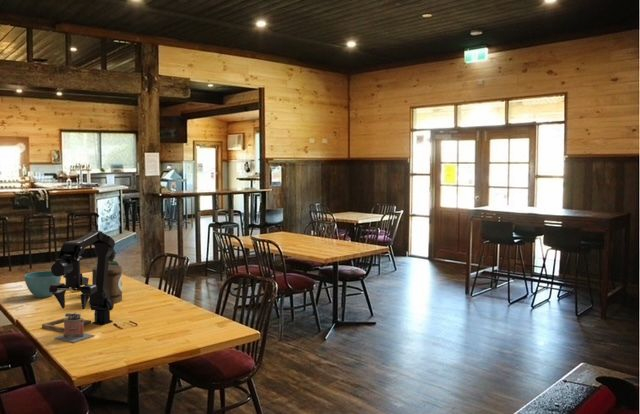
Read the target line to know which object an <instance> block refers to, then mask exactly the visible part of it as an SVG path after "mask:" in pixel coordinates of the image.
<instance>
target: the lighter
mask: <svg viewBox="0 0 640 414" xmlns="http://www.w3.org/2000/svg"><path fill="white" fill-rule="evenodd" d="M67 317H68V318H67ZM71 317H72V318H71ZM64 318H65V319H64V322H63V328H64V332H63V333H64V334H63V335H64V337H67V338H77V337H84V333H85V332H84V331H85V330H84V326H83V321H84V317H81V313H77V312H73V313H72V312H67V313H65V314H64Z"/></svg>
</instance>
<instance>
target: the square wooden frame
mask: <svg viewBox="0 0 640 414" xmlns="http://www.w3.org/2000/svg"><path fill="white" fill-rule="evenodd" d="M65 318H68V317H64V318H61V319H56V320H53V321H50V322H46V323H42V324H41V328H42V329H46V330H49V331H50V330H51V331H56V332H60V333H64V326H63V327H62V326H56V325H59V324H62V323H63V324H64V319H65ZM71 318H72V317H71ZM86 325H87V326H90V325H92V320H89V319H84V321H83V327H86Z"/></svg>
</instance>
